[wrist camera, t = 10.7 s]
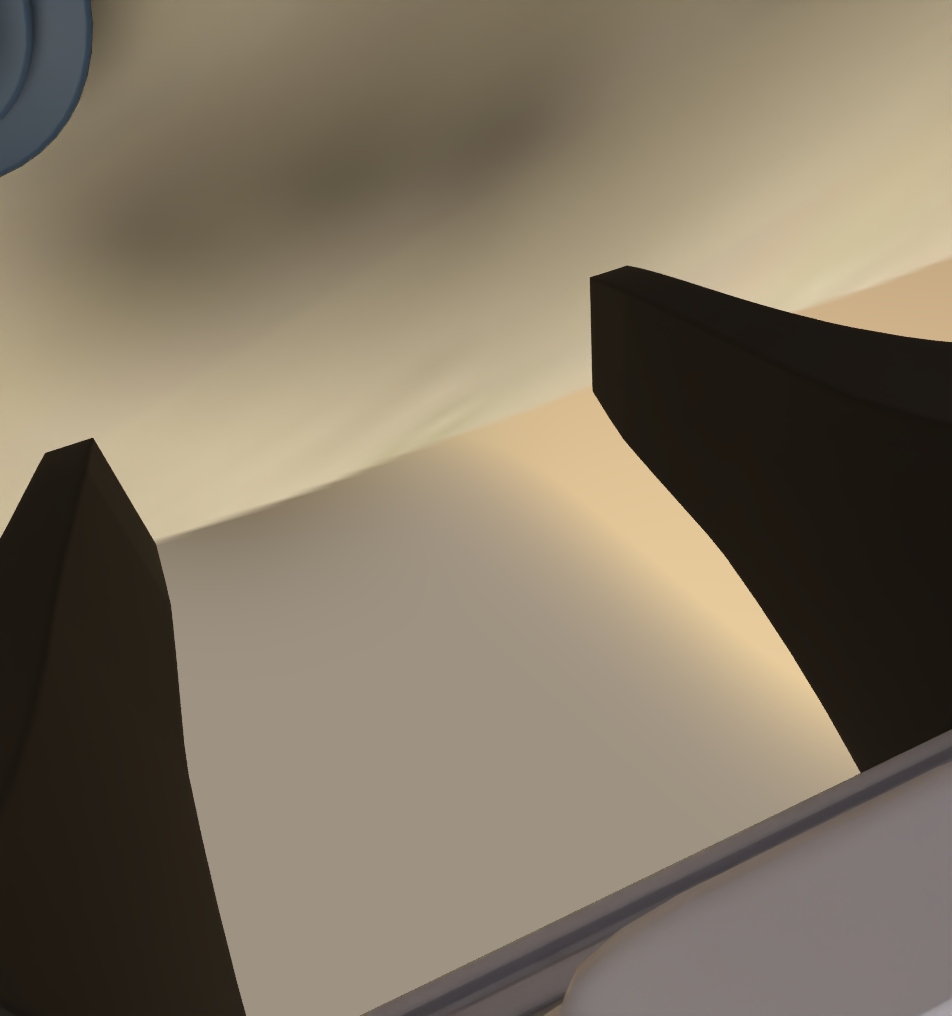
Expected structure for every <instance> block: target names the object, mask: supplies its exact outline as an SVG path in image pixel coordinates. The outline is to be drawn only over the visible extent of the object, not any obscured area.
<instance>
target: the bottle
mask: <svg viewBox="0 0 952 1016" xmlns="http://www.w3.org/2000/svg"><path fill="white" fill-rule="evenodd" d="M92 33H93V21H92V10H91V0H0V177H1V176H3V175H5V174H7V173H9V172H11V171H13V170H15V169H17V168H19V167H21V166H23V165H24V164H26V163H27V162H28V161H30V160H31V159H33V158H34V157H35V156H37V155H38V154H40V153H41V152H42V151H43V150H44V149H45V148H46V147H47V146H48V145H49V144H50V143H51V142H52V141H53V140H54V139H55V138H56V137H57V136H58V134H59V133H60V131H61V130H62V129H63V127H64V126H65V125H66V123H67V122H68V121H69V119H70V117H71V115H72V113H73V111H74V109H75V108H76V106H77V104H78V102H79V100H80V97H81V94H82V91H83V88H84V85H85V82H86V79H87V76H88V70H89V65H90V59H91V53H92Z"/></svg>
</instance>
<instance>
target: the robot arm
mask: <svg viewBox="0 0 952 1016" xmlns="http://www.w3.org/2000/svg"><path fill="white" fill-rule="evenodd" d="M590 301H591V344H592V386H593V392H594V394H595V396H596V397H597V399H598V400H599V402H600V404H601V405H602V407H603V409H604V410H605V412H606V413H607V415H608V417H609V418H610V420H611V421H612V423H613V424H614V426H615V427H616V428H617V430H618V432H619V433H620V435H621V436H622V438H623V439H624V440H625V441H626V443H627V444H628V445H629V446H630V447H631V449H632V450H633V451H634V452H635V453H636V454H637V456H638V457H639V458H640V459H641V460H642V461H643V462H644V464H646V466H647V467H648V468H649V469H650V470H651V472H652V473H653V474H654V475H655V476H656V477H657V478H658V479H659V480H660V481H661V483H662V484H663V485H664V486H665V487H666V488H667V490H668V491H669V492H670V493H671V494H672V495H673V496H674V497H675V498H676V500H677V501H678V502H679V503H680V504H681V505H682V506H683V507H684V509H685V510H686V511H687V512H688V513H689V514H690V515H691V516H692V518H693V519H694V520H695V521H696V522H697V523H698V524H699V525H700V526H701V528H702V529H703V530H704V531H705V532H706V533H707V534H708V535H709V537H710V538H711V539H712V540H713V542H714V543H715V544H716V545H717V547H718V548H719V549H720V550H721V552H722V553H723V554H724V555H725V557H726V558H727V559H728V560H729V562H730V564H731V565H732V567H733V568H734V569H735V571H736V572H737V574H738V575H739V576H740V578H741V579H742V581H743V582H744V584H745V585H746V586H747V588H748V589H749V591H750V592H751V593H752V595H753V597H754V598H755V599H756V601H757V602H758V604H759V605H760V607H761V608H762V610H763V611H764V613H765V614H766V616H767V617H768V619H769V620H770V622H771V624H772V625H773V627H774V628H775V630H776V631H777V633H778V634H779V636H780V637H781V639H782V640H783V642H784V643H785V645H786V646H787V648H788V649H789V651H790V652H791V654H792V656H793V657H794V659H795V661H796V662H797V664H798V666H799V667H800V669H801V671H802V672H803V674H804V675H805V677H806V679H807V680H808V682H809V684H810V685H811V687H812V689H813V690H814V692H815V693H816V695H817V697H818V698H819V700H820V702H821V703H822V705H823V707H824V708H825V710H826V712H827V713H828V715H829V717H830V719H831V721H832V722H833V724H834V726H835V728H836V730H837V731H838V733H839V735H840V736H841V738H842V740H843V742H844V744H845V745H846V747H847V749H848V751H849V753H850V754H851V756H852V758H853V760H854V762H855V763H856V765H857V767H858V769H859V771H860V772H861V773H860V774H858V775H856V776H854V777H852V778H850V779H848V780H846V781H844V782H842V783H840V784H838V785H836V786H833V787H832V788H829V789H827V790H825V791H823V792H821V793H819V794H817V795H815V796H813V797H811V798H809V799H807V800H805V801H803V802H800V803H799V804H796V805H794V806H792V807H790V808H788V809H786V810H784V811H782V812H780V813H778V814H776V815H774V816H772V817H770V818H767V819H765V820H763V821H761V822H760V823H757V824H755V825H753V826H751V827H749V828H747V829H745V830H743V831H741V832H739V833H736V834H734V835H732V836H730V837H728V838H726V839H724V840H722V841H720V842H718V843H716V844H714V845H712V846H710V847H708V848H705V849H703V850H701V851H699V852H697V853H695V854H693V855H691V856H689V857H687V858H685V859H683V860H681V861H679V862H676V863H674V864H672V865H670V866H668V867H666V868H664V869H662V870H660V871H658V872H656V873H654V874H652V875H650V876H648V877H646V878H643V879H641V880H639V881H637V882H635V883H633V884H631V885H629V886H627V887H625V888H623V889H621V890H619V891H617V892H615V893H613V894H610V895H608V896H606V897H604V898H602V899H600V900H598V901H596V902H594V903H592V904H590V905H588V906H586V907H584V908H581V909H580V910H577V911H575V912H573V913H571V914H569V915H567V916H565V917H563V918H561V919H559V920H557V921H555V922H553V923H550V924H548V925H546V926H544V927H542V928H540V929H538V930H536V931H534V932H532V933H530V934H528V935H526V936H524V937H522V938H520V939H517V940H515V941H513V942H511V943H509V944H507V945H505V946H503V947H501V948H499V949H497V950H495V951H493V952H491V953H489V954H486V955H484V956H482V957H480V958H478V959H476V960H474V961H472V962H470V963H468V964H466V965H464V966H462V967H460V968H458V969H456V970H453V971H451V972H449V973H447V974H445V975H443V976H441V977H439V978H437V979H435V980H433V981H431V982H429V983H427V984H424V985H423V986H420V987H418V988H416V989H414V990H412V991H410V992H408V993H406V994H404V995H402V996H400V997H398V998H396V999H393V1000H392V1001H389V1002H387V1003H385V1004H383V1005H381V1006H379V1007H377V1008H375V1009H373V1010H371V1011H369V1012H367V1013H365V1014H362V1015H360V1016H952V342H943V341H934V340H926V339H919V338H911V337H904V336H898V335H892V334H887V333H881V332H875V331H869V330H864V329H858V328H852V327H848V326H843V325H838V324H834V323H829V322H825V321H821V320H817V319H813V318H809V317H805V316H801V315H797V314H793V313H789V312H785V311H781V310H778V309H774V308H771V307H767V306H764V305H760V304H757V303H753V302H750V301H747V300H743V299H740V298H737V297H734V296H730V295H727V294H724V293H721V292H717V291H714V290H711V289H708V288H705V287H702V286H699V285H695V284H692V283H689V282H686V281H683V280H680V279H676V278H673V277H670V276H666V275H663V274H660V273H656V272H653V271H649V270H645V269H641V268H636V267H632V266H624V267H621V268H618V269H615V270H612V271H609V272H606V273H603V274H599V275H596V276H593V277H590ZM180 705H181V704H180V694H179V683H178V671H177V661H176V650H175V641H174V630H173V620H172V611H171V604H170V600H169V596H168V591H167V586H166V582H165V578H164V574H163V570H162V566H161V562H160V558H159V554H158V551H157V546H156V544H155V542H154V540H153V539H152V537H151V535H150V533H149V532H148V530H147V528H146V527H145V525H144V523H143V522H142V520H141V518H140V517H139V515H138V513H137V511H136V510H135V508H134V506H133V505H132V503H131V501H130V500H129V498H128V496H127V494H126V493H125V491H124V489H123V488H122V486H121V484H120V483H119V481H118V479H117V478H116V476H115V474H114V472H113V471H112V469H111V467H110V466H109V464H108V462H107V461H106V459H105V457H104V456H103V454H102V452H101V450H100V449H99V447H98V445H97V444H96V442H95V440H94V439H93V438H91V439H87V440H84V441H81V442H78V443H75V444H72V445H69V446H66V447H63V448H60V449H56V450H53V451H50V452H47V453H45V455H44V456H43V458H42V460H41V462H40V463H39V465H38V467H37V469H36V471H35V473H34V475H33V477H32V479H31V481H30V483H29V485H28V487H27V489H26V490H25V492H24V494H23V496H22V498H21V500H20V502H19V504H18V506H17V508H16V510H15V512H14V514H13V516H12V518H11V520H10V521H9V523H8V525H7V527H6V529H5V531H4V533H3V535H2V536H1V538H0V1016H246V1014H245V1010H244V1006H243V1003H242V999H241V995H240V992H239V988H238V984H237V981H236V977H235V973H234V969H233V965H232V961H231V957H230V953H229V949H228V945H227V941H226V937H225V933H224V929H223V925H222V921H221V917H220V913H219V909H218V905H217V901H216V896H215V892H214V888H213V883H212V880H211V875H210V871H209V866H208V862H207V858H206V854H205V849H204V844H203V840H202V836H201V831H200V826H199V822H198V817H197V812H196V807H195V803H194V798H193V793H192V789H191V784H190V779H189V774H188V767H187V760H186V754H185V746H184V737H183V726H182V715H181V706H180Z"/></svg>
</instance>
